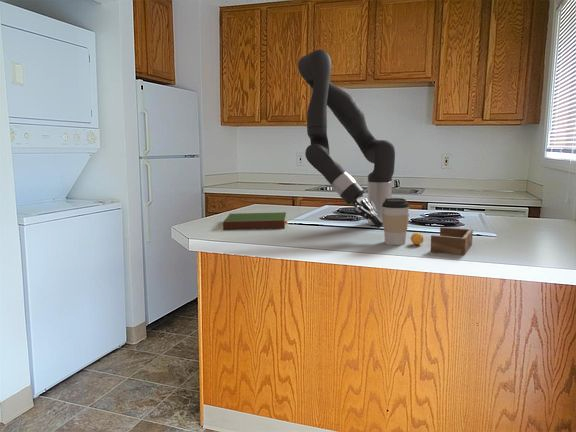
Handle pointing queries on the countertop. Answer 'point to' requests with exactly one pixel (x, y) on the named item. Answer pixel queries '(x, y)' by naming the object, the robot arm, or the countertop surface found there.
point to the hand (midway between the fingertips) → (381, 225)
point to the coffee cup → (395, 220)
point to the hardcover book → (255, 221)
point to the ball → (417, 238)
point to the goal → (452, 241)
